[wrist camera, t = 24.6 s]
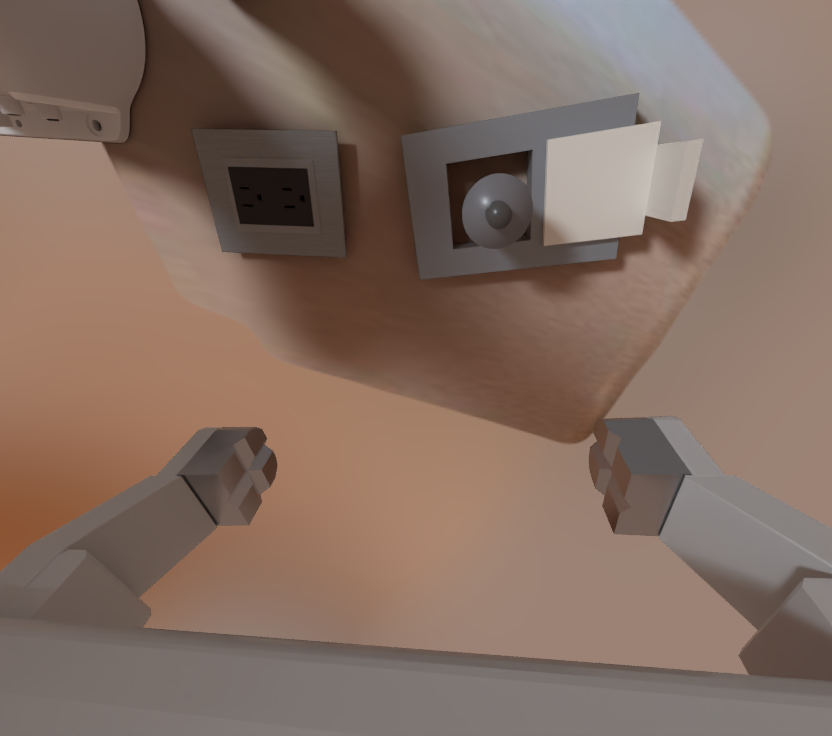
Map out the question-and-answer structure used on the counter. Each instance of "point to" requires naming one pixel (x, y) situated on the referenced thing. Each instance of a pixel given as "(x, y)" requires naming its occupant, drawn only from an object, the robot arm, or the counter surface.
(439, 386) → the counter surface
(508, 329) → the counter surface
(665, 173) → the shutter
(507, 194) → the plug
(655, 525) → the robot arm
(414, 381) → the counter surface
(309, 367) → the counter surface
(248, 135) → the electrical outlet
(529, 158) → the socket block
